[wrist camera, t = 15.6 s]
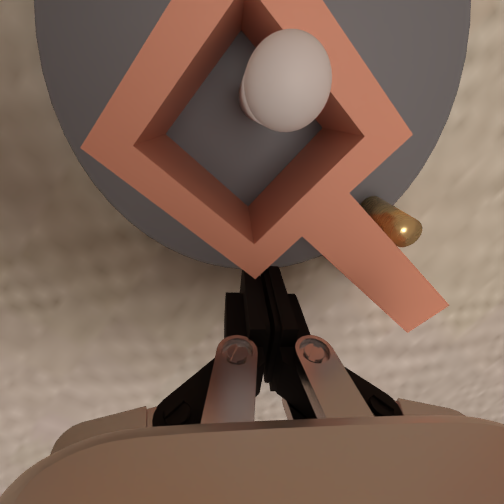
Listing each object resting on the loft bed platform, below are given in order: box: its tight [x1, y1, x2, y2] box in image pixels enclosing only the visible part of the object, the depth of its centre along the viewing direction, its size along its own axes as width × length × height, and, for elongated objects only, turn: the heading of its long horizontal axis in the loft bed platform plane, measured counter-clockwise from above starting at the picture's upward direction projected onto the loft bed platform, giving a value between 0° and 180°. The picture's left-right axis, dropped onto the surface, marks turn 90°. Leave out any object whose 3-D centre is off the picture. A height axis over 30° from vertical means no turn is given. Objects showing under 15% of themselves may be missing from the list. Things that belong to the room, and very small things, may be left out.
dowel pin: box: [360, 196, 422, 247], centre depth 12 cm, size 1×1×3 cm
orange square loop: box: [80, 0, 449, 333], centre depth 10 cm, size 14×7×4 cm, turn 47°
